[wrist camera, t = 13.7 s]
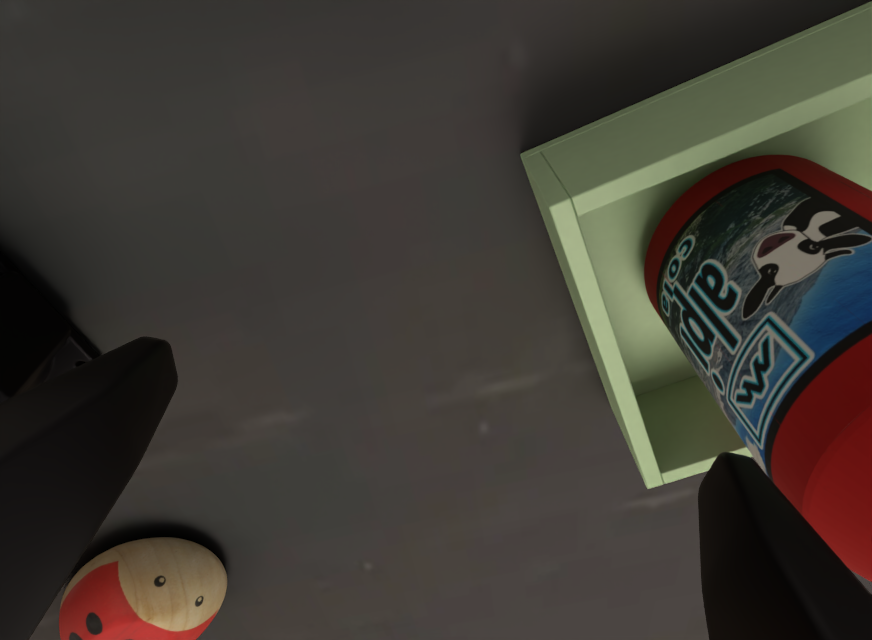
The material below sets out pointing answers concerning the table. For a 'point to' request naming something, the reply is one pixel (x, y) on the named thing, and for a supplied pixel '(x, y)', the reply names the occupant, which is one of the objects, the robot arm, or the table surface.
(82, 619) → the ladybug figurine
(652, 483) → the bin
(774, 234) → the beverage can
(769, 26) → the table surface
